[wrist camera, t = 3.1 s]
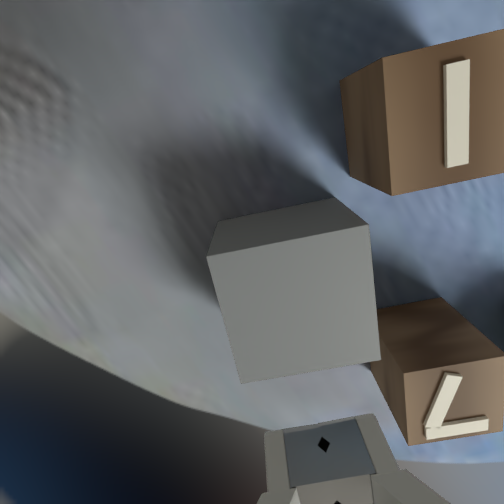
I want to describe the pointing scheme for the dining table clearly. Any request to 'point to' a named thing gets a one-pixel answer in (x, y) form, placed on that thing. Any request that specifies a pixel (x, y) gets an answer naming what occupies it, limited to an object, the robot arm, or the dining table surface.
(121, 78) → the dining table surface
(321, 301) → the grey block
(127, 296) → the dining table surface
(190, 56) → the dining table surface
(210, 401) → the dining table surface
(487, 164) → the walnut block one
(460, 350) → the walnut block seven
